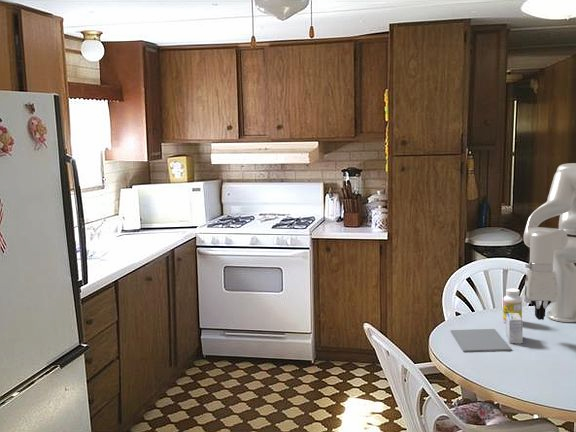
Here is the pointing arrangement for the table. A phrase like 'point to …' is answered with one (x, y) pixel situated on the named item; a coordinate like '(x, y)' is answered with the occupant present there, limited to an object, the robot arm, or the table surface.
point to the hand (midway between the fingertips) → (539, 318)
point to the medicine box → (514, 328)
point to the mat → (480, 340)
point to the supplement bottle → (512, 303)
